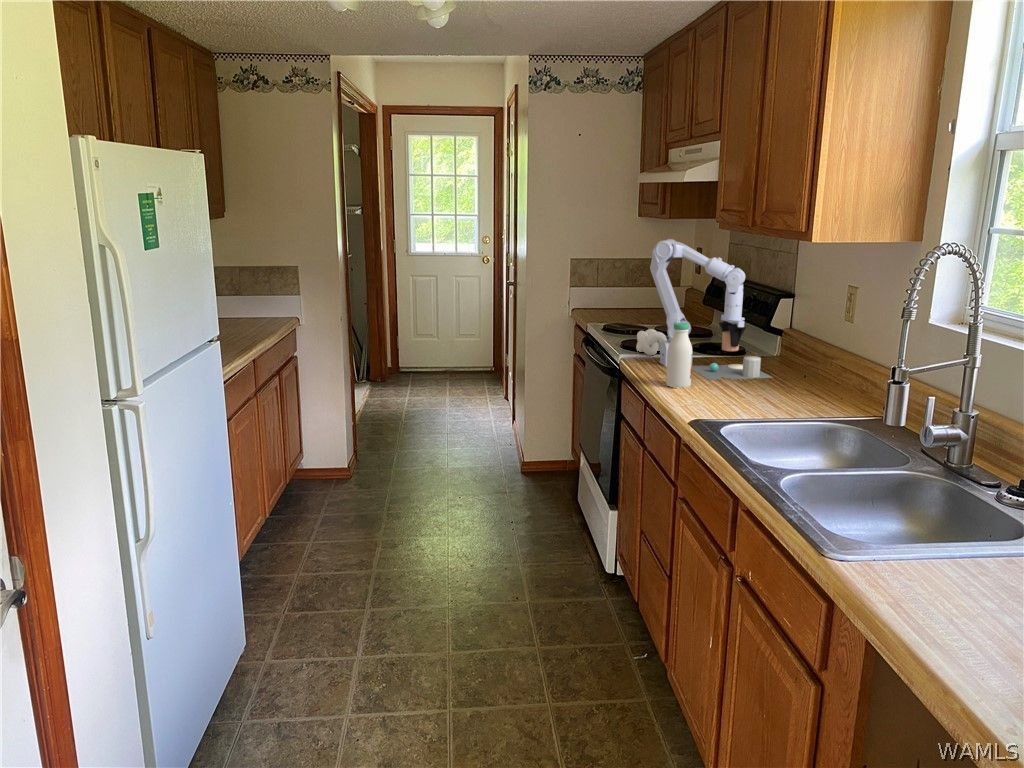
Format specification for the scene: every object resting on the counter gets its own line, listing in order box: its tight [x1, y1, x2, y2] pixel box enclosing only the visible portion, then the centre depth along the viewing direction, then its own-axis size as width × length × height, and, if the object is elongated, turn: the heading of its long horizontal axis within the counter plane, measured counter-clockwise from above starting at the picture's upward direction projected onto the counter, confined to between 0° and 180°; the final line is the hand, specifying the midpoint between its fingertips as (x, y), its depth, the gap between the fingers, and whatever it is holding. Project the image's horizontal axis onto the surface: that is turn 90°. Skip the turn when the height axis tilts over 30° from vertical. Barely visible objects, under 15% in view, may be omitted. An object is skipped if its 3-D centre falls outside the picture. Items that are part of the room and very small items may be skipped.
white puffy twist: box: [635, 328, 668, 357], centre depth 281 cm, size 11×12×9 cm
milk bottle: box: [665, 323, 693, 389], centre depth 233 cm, size 8×8×20 cm
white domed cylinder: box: [742, 355, 762, 377], centre depth 246 cm, size 5×5×6 cm
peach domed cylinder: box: [721, 331, 740, 352], centre depth 253 cm, size 5×5×6 cm
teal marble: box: [709, 362, 719, 372], centre depth 252 cm, size 3×3×3 cm
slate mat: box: [692, 363, 774, 381], centre depth 252 cm, size 22×20×1 cm
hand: (730, 344), depth 254 cm, fingers closed on peach domed cylinder, 5 cm apart
